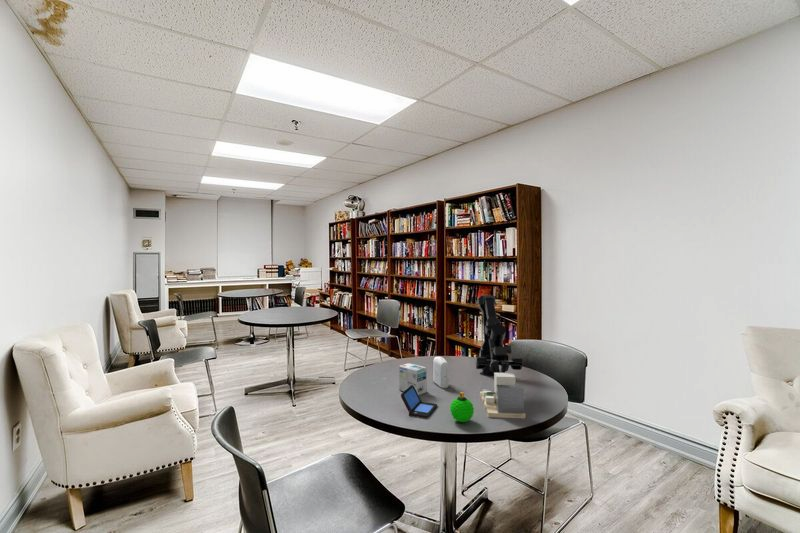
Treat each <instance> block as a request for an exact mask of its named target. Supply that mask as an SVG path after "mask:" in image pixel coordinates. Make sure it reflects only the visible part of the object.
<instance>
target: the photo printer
mask: <svg viewBox="0 0 800 533" xmlns="http://www.w3.org/2000/svg"><path fill="white" fill-rule="evenodd" d="M432 360H433V361H432V362H433V364H432V366H433V367H432V368H433V369H432V370H433V371H432V373H433V375H432V379H433V383H434V384H436V385H437V386H438V387H439V388H441V389H447V388H449V384H450V383H449V382H450V379H449V378H450V377H449V376H450V375H449V374H450V373H449V372H450V370H449V368H450V365H449V363H448V362H447V359H445V358H444V357H442V356H435V357H434V358H433V359H432Z"/></svg>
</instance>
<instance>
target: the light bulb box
mask: <svg viewBox="0 0 800 533" xmlns="http://www.w3.org/2000/svg"><path fill="white" fill-rule="evenodd" d="M427 372H428V371H427V367H426V366H423V365H418V364H413V363H410V362H409V363H405V364H401V365H398V373H399V374H398V379H399V380H398V381H399V382H398V383H399V384H398V385H399V386H398V388H399V389H398V391H401V392H404V391H405V390H406V389H408V388H409V387H410V386H411V385H413V386H414V388H415V390H416V392H417V394H418V395H419V396H420V395H423V394H425V393H427V392H428V376H427V375H428V373H427Z"/></svg>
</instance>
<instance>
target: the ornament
mask: <svg viewBox="0 0 800 533" xmlns="http://www.w3.org/2000/svg"><path fill="white" fill-rule="evenodd" d="M449 407H450V410H449V411H450V414H451V415H450V416H452V418H453V419H454V420H455V421H457V422H459V423H465V422H468V421H470V420H471V419H472V417H473V416H474V413H475V408H474V404H473V403H472V401H471V400H469V399H468V398H467V397H465V392H463V391H460V392H459V396H457V397H456V398H455V399H453V400H452V402H451V403H450V406H449Z"/></svg>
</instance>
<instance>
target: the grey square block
mask: <svg viewBox="0 0 800 533" xmlns="http://www.w3.org/2000/svg"><path fill="white" fill-rule="evenodd" d="M524 398H525V388H524V386H523V385H522V384H521V385H520V384H519V385H518V384H517V385H516V384H515V385H496V409H497V412H498V413H524V412H525V410H524V409H525V403H524V402H525V399H524Z"/></svg>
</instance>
